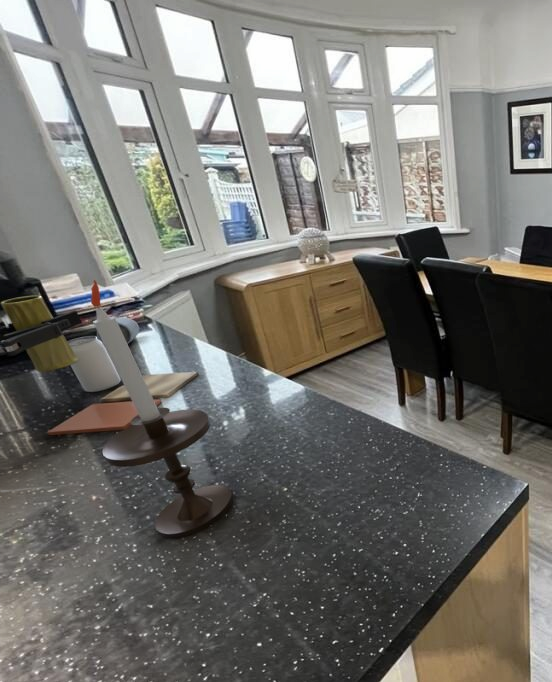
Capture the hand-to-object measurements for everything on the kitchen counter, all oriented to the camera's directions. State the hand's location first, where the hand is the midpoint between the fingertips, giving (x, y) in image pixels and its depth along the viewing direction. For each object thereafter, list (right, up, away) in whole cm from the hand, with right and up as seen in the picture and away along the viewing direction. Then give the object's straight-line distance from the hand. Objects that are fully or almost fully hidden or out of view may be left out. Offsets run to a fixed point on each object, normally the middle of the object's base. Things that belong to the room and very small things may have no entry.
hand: (61, 318), depth 83 cm
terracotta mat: (+11, -21, -1) cm, 24 cm away
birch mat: (+10, -16, +10) cm, 21 cm away
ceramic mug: (-24, -6, +36) cm, 44 cm away
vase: (+1, -10, -1) cm, 10 cm away
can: (-3, -16, +12) cm, 20 cm away
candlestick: (+48, -30, -25) cm, 62 cm away
